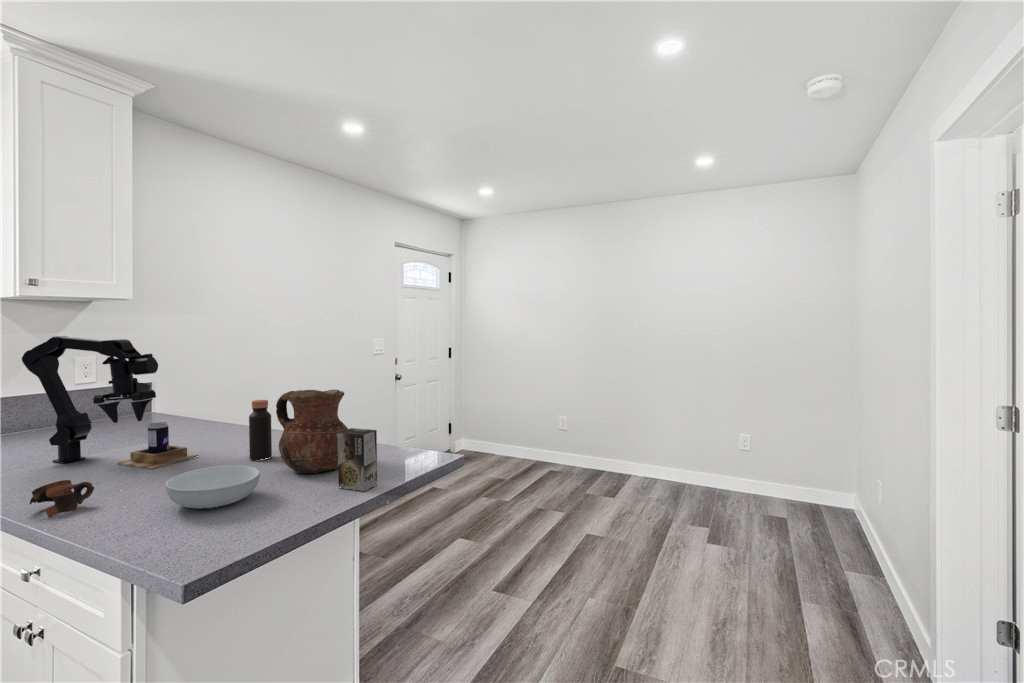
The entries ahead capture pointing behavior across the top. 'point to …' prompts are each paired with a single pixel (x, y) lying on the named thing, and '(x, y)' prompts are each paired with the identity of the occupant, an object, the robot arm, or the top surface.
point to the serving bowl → (212, 486)
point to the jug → (310, 430)
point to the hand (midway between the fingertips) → (127, 421)
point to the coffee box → (357, 459)
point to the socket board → (158, 457)
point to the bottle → (260, 431)
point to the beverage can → (158, 438)
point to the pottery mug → (61, 496)
